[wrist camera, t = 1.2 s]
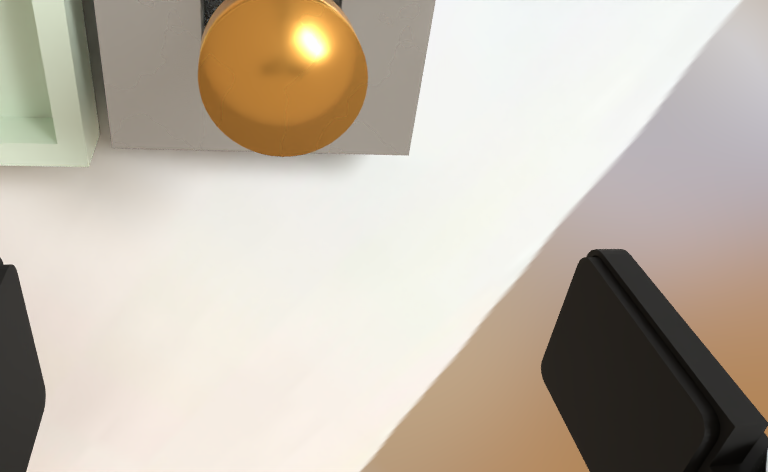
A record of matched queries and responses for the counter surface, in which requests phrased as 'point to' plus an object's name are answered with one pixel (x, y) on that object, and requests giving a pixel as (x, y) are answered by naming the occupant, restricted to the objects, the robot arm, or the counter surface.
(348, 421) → the counter surface
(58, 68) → the tray
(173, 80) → the grey slotted block
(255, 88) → the pin
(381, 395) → the counter surface
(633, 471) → the robot arm
